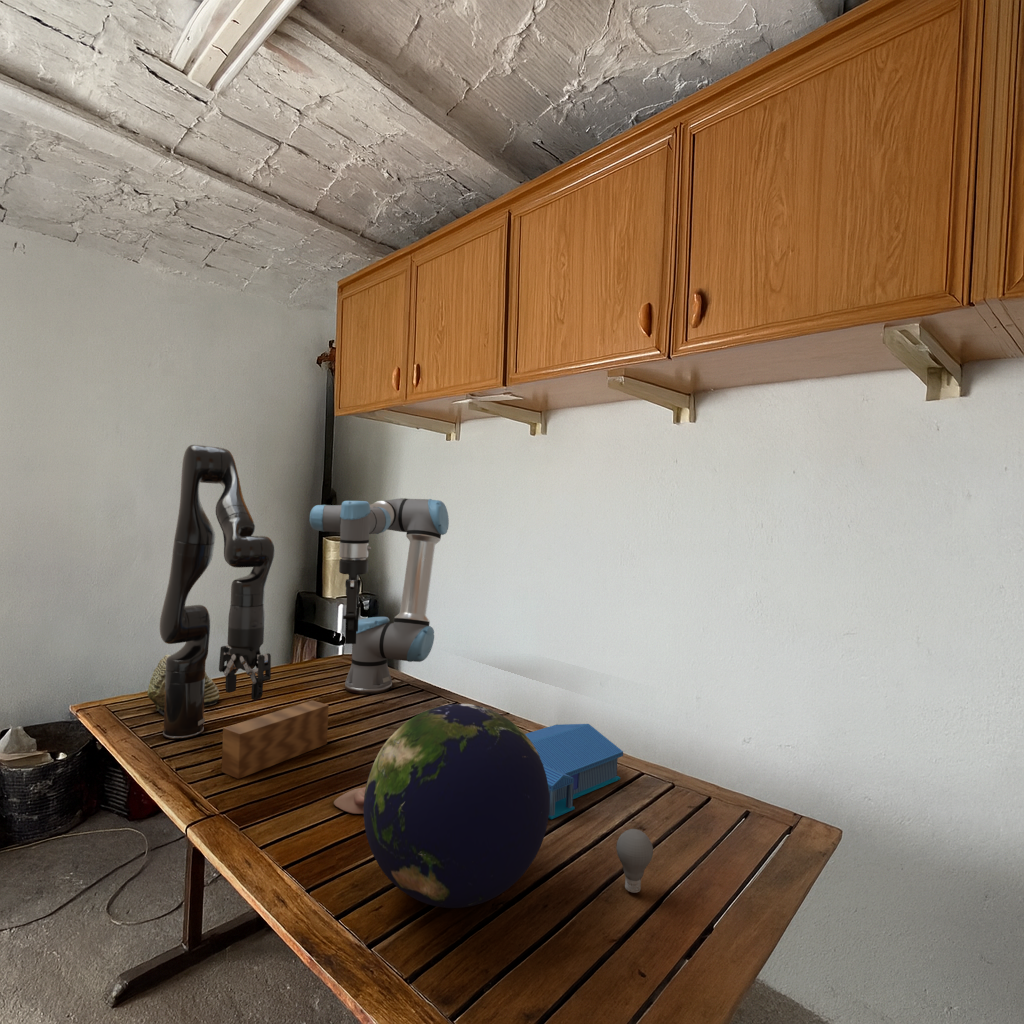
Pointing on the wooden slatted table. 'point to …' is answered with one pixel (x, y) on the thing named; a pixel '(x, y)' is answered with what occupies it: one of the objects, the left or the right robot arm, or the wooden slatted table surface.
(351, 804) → the anatomical model
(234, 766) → the box
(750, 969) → the wooden slatted table surface
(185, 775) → the wooden slatted table surface
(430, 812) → the globe
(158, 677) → the fossil
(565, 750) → the model building
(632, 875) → the light bulb
